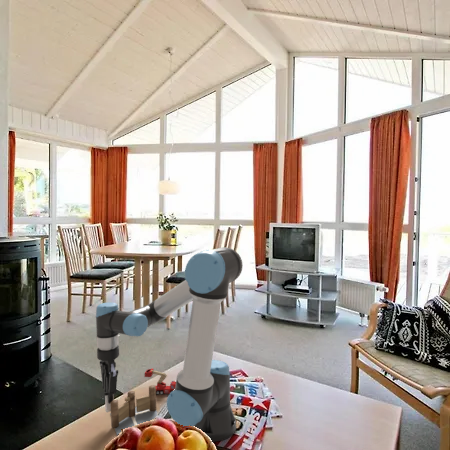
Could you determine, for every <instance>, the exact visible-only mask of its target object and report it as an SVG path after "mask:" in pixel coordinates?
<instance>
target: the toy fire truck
mask: <svg viewBox="0 0 450 450" xmlns="http://www.w3.org/2000/svg"><path fill="white" fill-rule="evenodd" d="M153 375H157V376H160V377H159V379H158V381H157V382H156V385H155V386H156V395H163V394H167V395H169V394H170V393H171V392H172V391H173V390H174V389H175V386H176V380H171V382H170V384H169V385H167V383H166V382H164V381H165V380H166V378H167V377H168V374H166V373H165V372H161V371H157V370H154V368H148V369H146V370H145V371H144V378H151V377H152V376H153Z"/></svg>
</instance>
